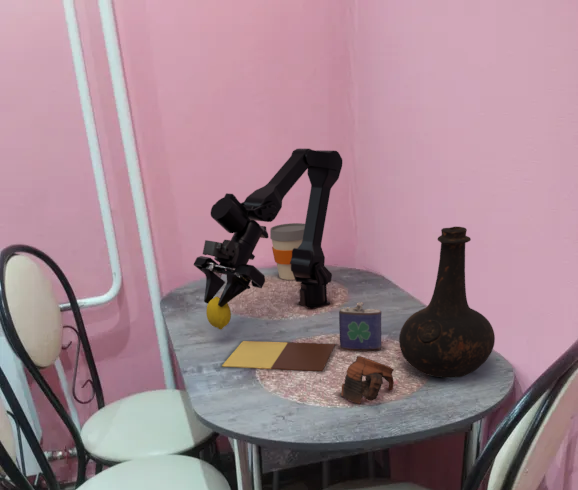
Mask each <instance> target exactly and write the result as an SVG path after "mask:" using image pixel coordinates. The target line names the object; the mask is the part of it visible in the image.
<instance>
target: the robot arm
mask: <svg viewBox="0 0 578 490" xmlns="http://www.w3.org/2000/svg"><path fill="white" fill-rule="evenodd" d="M342 168H343V158H342V156H341V154H340V153H339V151H338V150H328V149H327V150H325V149H324V150H323V149H321V150H320V149H319V150H318V149H317V150H315V149H312V148H296V149H294V150H293V151H292V152H291V155H290V157H289V158H288V159H287V160H286V161H285V163H284V164H283V165H282V166H281V167H280V168H279V169H278V171H277V172H276V173H275V174H274V175H273V177H272V178H271V179H270V180H269V181H268V183H266V184H265V185H264V186H262V187H259V188H258V189H256V190H254V191H253V192H251V193H250V194H249V195H247V196H246V198H245V199H244V201H242V202H240V200H239V199H237V197H236V196H235V195H234V193H225V194H224V197H221V198H220V199H218V200H217V201H216V202H215V203H214V204H213V205H212V207H211V209H210V217H211V218H212V219H213V220H214V221H215V222H216V223H217V224H218V225H220V227H222V228H223V230H225V231H226V232H227V233H228V234H232V236H231V239H224V240H223V241H222V242H219V241H213V240H208V239H205V240H204V243H203V244H204V245H203V250H202V255H199V256H196V258H195V260H194V263H193V266H194V267H195V268H197V270H199V271H200V272H201V273H203V274H204V275H205V279H206V280H205V289H204V298H203V302H204V303H205V304H207V305H208V303H209V301H210V300H212V299H213V298H215V297H216V295H217V294H218V292H219V291H220V290H221V289H222V287H224V288H223V290H222V293H221V294H220V297H219V298H220V300H219V303H218V306H220V307H223V306H224V305H225V304H227V303H228V304H229V302H231V301H232V300H234V299H235V298H236V297H237V296H239V295H240V294H242V293H243V292H245V291H246V290H250V289H251V286H252V287H254V288H257V289H258V288H259V289H263V287H264V284H265V283H266V277H265V274H264V273H262V272H261V271H260V270H259V269H258V268H257V267H255V266H254V265H252V264H248V263H249V261H254V260H255V258H256V255H254V251H255V249H256V247H257V244H258V243H259V241H260V239H269V233H268V230H267V226H266V225H261V224H260V223H259V222H265V223H271V222H273V221H274V220H276V218H277V216H278V215H279V213H280V212H281V209H282V208H283V207H282V206H283V200H284V198H285V196H286V195H287V194H288V193H289V192H290V191H291V189H292V188H293V187H294V186H295V185H296V183H297V182H298V181H299V179H301V178H302V176H303V175H304V174H305V172H306V171H307V173H306V174H307V177H308V179H309V182H310V191H309V198H308V204H307V210H306V214H305V215H306V216H305V222H304V224H305V227H304V233H303V240H302V243H301V245H300V246H299V247H298V248H293V250H292V258H291V261H290V264H291V271H292V272H293V275H294V278H295V280H294V281H295V282H297V283H300V285H299V286H300V288H299V291H298V292H299V301H298V305H301V306H303V307H304V308H307V309H310V310H313V309H316V308H321V307H325V306H328V305H331V301H329V300H328V293H327V292H328V290H327V285H329V284H330V283H331V282H332V277H333V273H332V272H331V271H330V270H329V269H328V268H327V266H325V261H326V257H325V254H324V250H323V248H322V242H323V235H324V229H325V224H326V218H327V212H328V207H329V201H330V195H331V189H332V188H333V187H334V185H335V184H336V182H337V181H338V180H339V178H340V175H341V171H342ZM209 256H211V257H214V258H211V257H209ZM222 275H226V281H225V280H224V279H222ZM250 284H251V286H250ZM224 285H225V286H224Z"/></svg>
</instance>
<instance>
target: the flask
mask: <svg viewBox="0 0 578 490" xmlns="http://www.w3.org/2000/svg"><path fill="white" fill-rule="evenodd" d="M364 303H365V302H362V301H359V302H356V306H355V307H352V306H351V307H349V306H346V307H344V308H340V309H339V311H338V321H339V322H338V324H339V327H338V328H339V348H340V350H343V351H350V352H376V351H381V349H382V311H381V309H379V308H373V309H372V308H366V309H365V308H364V307H363V306H364Z"/></svg>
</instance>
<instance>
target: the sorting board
mask: <svg viewBox="0 0 578 490" xmlns="http://www.w3.org/2000/svg"><path fill="white" fill-rule="evenodd" d="M335 347H336V344H335V343H315V342H312V343H311V342H284V341H258V340H257V341H255V340H254V341H253V340H252V341H251V340H242V341H241V343H240V344H239V345H237V347H236V348H235V350H234V351H233V352H232V353H231V355H230V356H228V358H227V359H226V360H225V361H224V362H223V364H222V365H221V367H222V368H239V369H241V368H242V369H260V370H261V369H262V370H283V371H284V370H285V371H286V370H287V371H304V372H305V371H306V372H307V371H308V372H323V371H324V369H325V367H326V365H327V363H328V362H329V359H330V356H331V354H332V352H333V350H334V348H335Z"/></svg>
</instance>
